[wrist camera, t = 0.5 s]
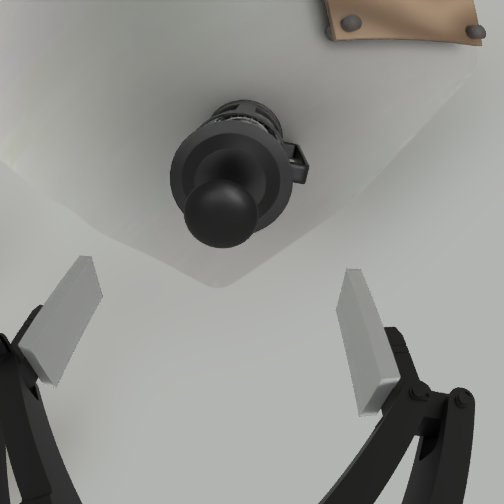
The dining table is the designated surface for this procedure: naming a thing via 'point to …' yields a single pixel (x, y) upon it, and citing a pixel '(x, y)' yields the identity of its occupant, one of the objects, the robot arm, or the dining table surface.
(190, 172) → the french press
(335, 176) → the dining table surface
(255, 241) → the dining table surface
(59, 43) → the dining table surface
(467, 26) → the wooden board with feet
